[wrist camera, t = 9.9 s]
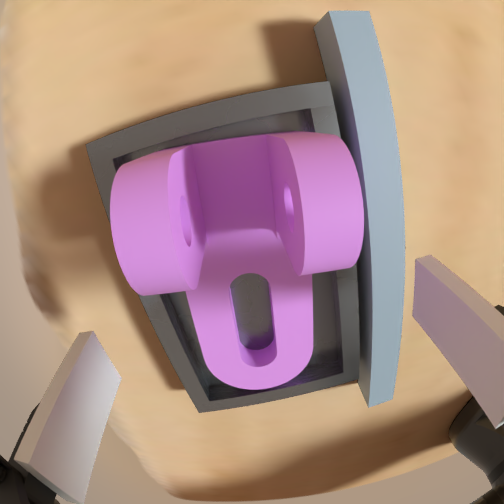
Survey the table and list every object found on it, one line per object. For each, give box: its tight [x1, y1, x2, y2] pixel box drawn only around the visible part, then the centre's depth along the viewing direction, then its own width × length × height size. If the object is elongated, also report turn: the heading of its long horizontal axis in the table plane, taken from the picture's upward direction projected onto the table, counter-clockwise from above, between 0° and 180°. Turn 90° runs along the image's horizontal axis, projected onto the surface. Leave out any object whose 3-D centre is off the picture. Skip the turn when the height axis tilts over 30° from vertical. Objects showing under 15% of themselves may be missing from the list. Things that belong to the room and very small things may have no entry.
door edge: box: [313, 11, 405, 408], centre depth 14 cm, size 22×2×2 cm, turn 13°
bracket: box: [110, 131, 364, 390], centre depth 12 cm, size 13×6×7 cm, turn 7°
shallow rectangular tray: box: [86, 81, 360, 413], centre depth 15 cm, size 16×10×2 cm, turn 13°
